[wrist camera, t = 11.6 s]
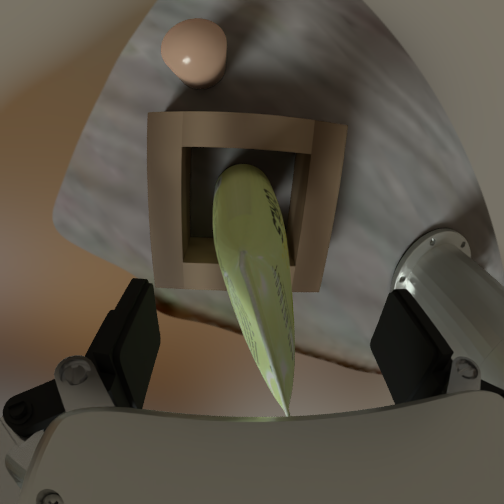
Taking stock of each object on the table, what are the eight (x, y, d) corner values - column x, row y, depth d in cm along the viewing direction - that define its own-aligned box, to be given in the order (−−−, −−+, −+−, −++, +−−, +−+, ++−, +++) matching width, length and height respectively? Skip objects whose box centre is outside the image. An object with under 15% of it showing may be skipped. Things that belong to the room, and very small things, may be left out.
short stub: (223, 43, 19) (223, 14, 13) (228, 85, 21) (230, 69, 15) (175, 50, 19) (158, 25, 13) (180, 92, 21) (163, 80, 15)
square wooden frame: (326, 122, 23) (347, 125, 19) (306, 264, 29) (319, 292, 25) (163, 112, 22) (147, 112, 17) (166, 259, 28) (155, 287, 24)
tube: (287, 187, 26) (389, 347, 8) (254, 230, 27) (288, 425, 10) (235, 151, 24) (242, 262, 6) (202, 198, 26) (151, 379, 8)
